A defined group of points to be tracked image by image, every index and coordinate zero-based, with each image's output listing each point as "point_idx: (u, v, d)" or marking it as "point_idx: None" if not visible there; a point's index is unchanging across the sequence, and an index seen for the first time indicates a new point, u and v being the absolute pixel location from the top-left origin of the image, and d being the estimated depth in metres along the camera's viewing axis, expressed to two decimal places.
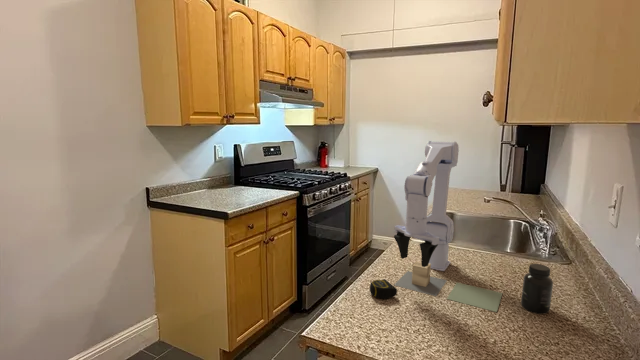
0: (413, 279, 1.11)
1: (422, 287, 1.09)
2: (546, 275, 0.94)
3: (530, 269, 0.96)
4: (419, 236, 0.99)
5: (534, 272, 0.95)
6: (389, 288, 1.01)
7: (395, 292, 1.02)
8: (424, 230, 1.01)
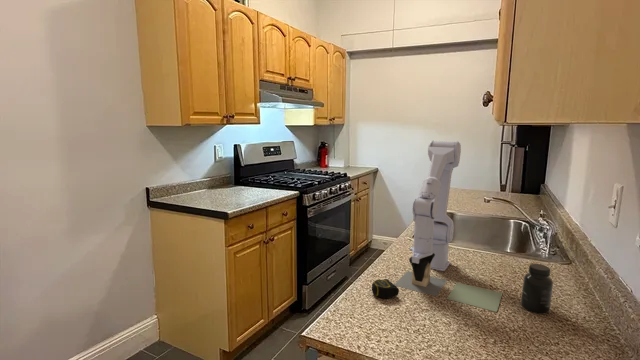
0: (413, 279, 1.11)
1: (422, 287, 1.09)
2: (546, 275, 0.94)
3: (530, 269, 0.96)
4: None
5: (534, 272, 0.95)
6: (391, 288, 1.02)
7: (397, 292, 1.02)
8: (420, 249, 1.08)
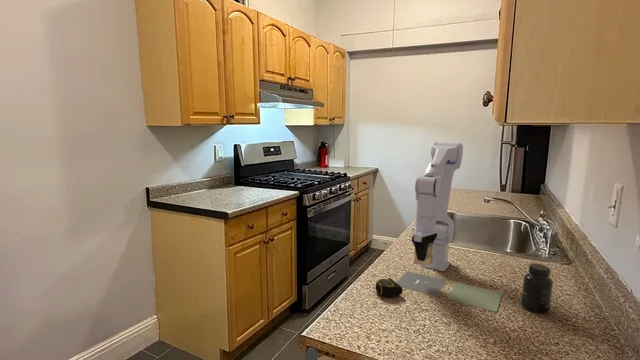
0: (415, 259, 1.10)
1: (422, 287, 1.09)
2: (546, 275, 0.94)
3: (530, 269, 0.96)
4: (415, 231, 1.08)
5: (534, 272, 0.95)
6: (395, 287, 1.02)
7: (401, 291, 1.03)
8: (423, 228, 1.07)
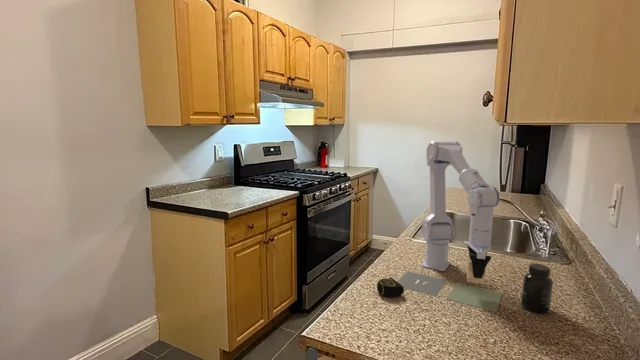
0: (469, 277, 1.02)
1: (422, 287, 1.09)
2: (546, 275, 0.94)
3: (530, 269, 0.96)
4: (472, 247, 1.00)
5: (534, 272, 0.95)
6: (396, 286, 1.03)
7: (402, 290, 1.03)
8: (481, 243, 0.99)
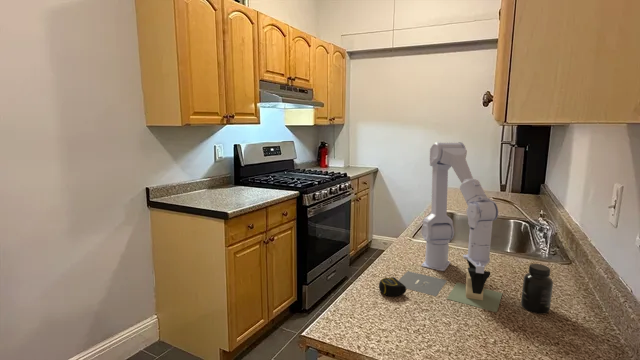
0: (468, 293, 1.02)
1: (422, 287, 1.09)
2: (546, 275, 0.94)
3: (530, 269, 0.96)
4: (470, 260, 1.00)
5: (534, 272, 0.95)
6: (398, 286, 1.03)
7: (404, 290, 1.03)
8: (480, 257, 0.99)
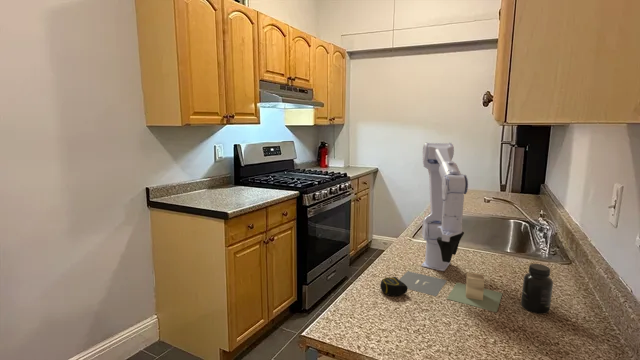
0: (468, 293, 1.02)
1: (422, 287, 1.09)
2: (546, 275, 0.94)
3: (530, 269, 0.96)
4: (441, 231, 1.06)
5: (534, 272, 0.95)
6: (400, 285, 1.03)
7: (406, 289, 1.03)
8: (450, 228, 1.05)
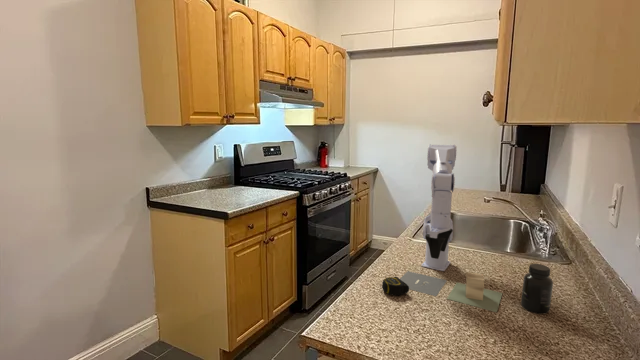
0: (468, 293, 1.02)
1: (422, 287, 1.09)
2: (546, 275, 0.94)
3: (530, 269, 0.96)
4: (430, 227, 1.09)
5: (534, 272, 0.95)
6: (401, 285, 1.03)
7: (407, 289, 1.04)
8: (438, 225, 1.08)
